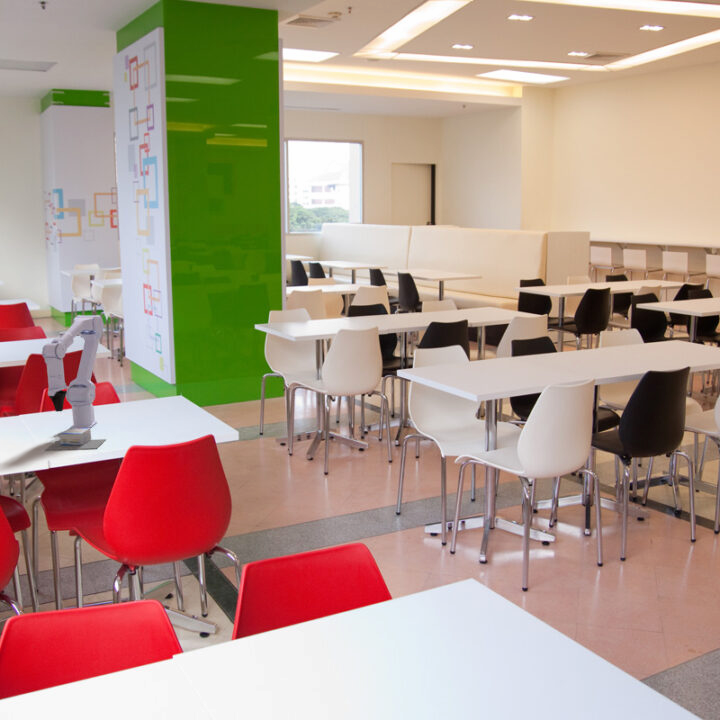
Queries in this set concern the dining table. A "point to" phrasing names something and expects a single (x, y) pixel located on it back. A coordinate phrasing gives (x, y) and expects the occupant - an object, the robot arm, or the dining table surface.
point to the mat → (88, 445)
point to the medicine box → (75, 436)
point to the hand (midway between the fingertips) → (59, 411)
